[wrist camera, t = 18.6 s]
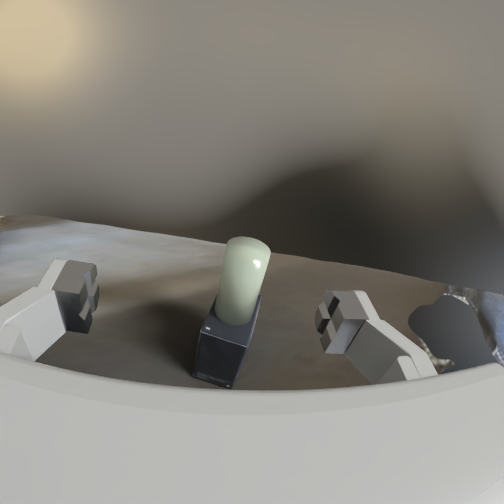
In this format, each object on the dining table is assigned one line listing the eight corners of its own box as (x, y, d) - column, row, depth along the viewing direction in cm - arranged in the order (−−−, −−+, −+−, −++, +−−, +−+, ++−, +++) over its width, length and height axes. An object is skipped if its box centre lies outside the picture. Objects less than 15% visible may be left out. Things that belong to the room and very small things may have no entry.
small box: (234, 391, 42) (249, 348, 36) (190, 377, 42) (196, 331, 36) (249, 340, 50) (264, 294, 45) (211, 329, 51) (220, 281, 45)
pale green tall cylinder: (214, 324, 38) (227, 259, 33) (214, 297, 42) (225, 234, 37) (254, 326, 39) (273, 264, 34) (250, 300, 43) (267, 239, 38)
